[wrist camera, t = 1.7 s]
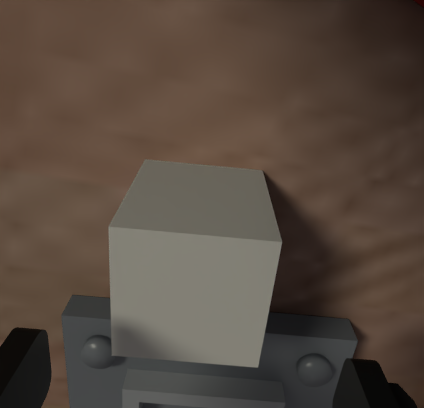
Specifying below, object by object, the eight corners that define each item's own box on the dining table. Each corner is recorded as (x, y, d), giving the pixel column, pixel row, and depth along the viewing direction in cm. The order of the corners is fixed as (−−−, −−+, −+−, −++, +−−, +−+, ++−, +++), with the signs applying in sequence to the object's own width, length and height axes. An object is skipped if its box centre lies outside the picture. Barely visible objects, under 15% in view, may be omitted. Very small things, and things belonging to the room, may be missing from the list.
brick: (145, 158, 17) (108, 226, 11) (262, 169, 17) (282, 242, 11) (143, 258, 19) (111, 355, 13) (247, 267, 19) (257, 367, 13)
